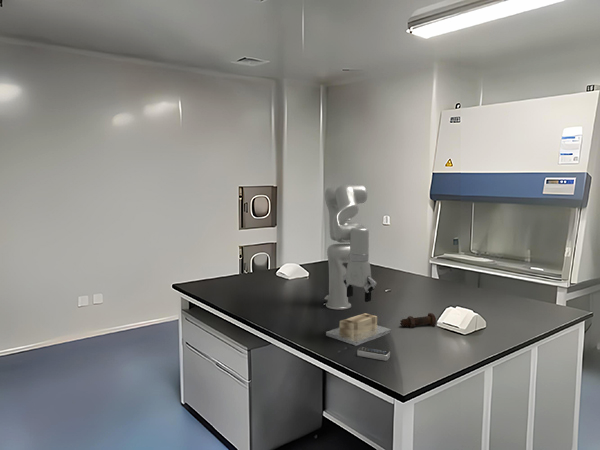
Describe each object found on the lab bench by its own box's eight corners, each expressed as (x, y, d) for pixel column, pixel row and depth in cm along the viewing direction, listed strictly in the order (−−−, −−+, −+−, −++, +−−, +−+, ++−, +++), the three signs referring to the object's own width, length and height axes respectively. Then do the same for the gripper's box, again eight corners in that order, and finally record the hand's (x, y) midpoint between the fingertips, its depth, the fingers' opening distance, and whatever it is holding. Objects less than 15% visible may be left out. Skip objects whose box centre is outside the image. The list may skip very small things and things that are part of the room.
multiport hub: (386, 361, 160) (386, 355, 160) (357, 356, 165) (357, 350, 165) (390, 357, 164) (390, 351, 164) (361, 352, 169) (361, 346, 169)
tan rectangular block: (339, 333, 185) (339, 320, 185) (365, 324, 196) (365, 313, 195) (351, 337, 180) (351, 324, 180) (377, 328, 191) (377, 316, 190)
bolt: (400, 331, 198) (432, 327, 201) (404, 328, 193) (437, 324, 196) (397, 317, 200) (429, 314, 203) (401, 314, 195) (434, 311, 198)
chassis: (326, 335, 187) (326, 324, 186) (361, 323, 201) (361, 313, 201) (355, 345, 175) (355, 334, 174) (390, 332, 190) (391, 322, 189)
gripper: (337, 256, 189) (336, 296, 191) (369, 262, 176) (369, 305, 178) (349, 253, 194) (349, 293, 196) (382, 259, 181) (381, 301, 183)
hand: (358, 298), depth 187 cm, fingers open, 9 cm apart
